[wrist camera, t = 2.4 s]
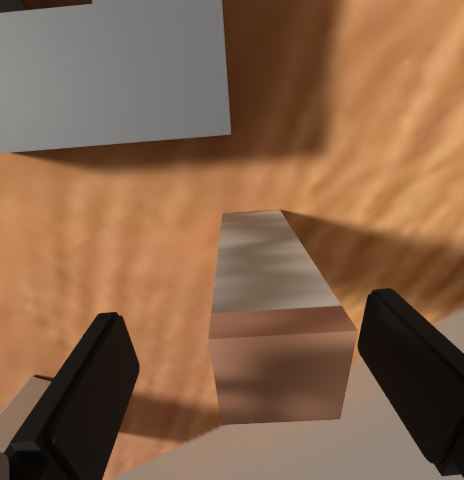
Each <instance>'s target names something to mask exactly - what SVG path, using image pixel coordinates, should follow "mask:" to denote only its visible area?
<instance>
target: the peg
mask: <svg viewBox="0 0 464 480" xmlns="http://www.w3.org/2000/svg"><path fill="white" fill-rule="evenodd" d="M357 332H358V330H357V329H356V327H355V326H354V324H353V323H352V321H351V320H350V318H349V317H348V315H347V313H346V312H345V310H344V309H343V307H342V306H341V304H340V303H339V301H338V299H337V298H336V296H335V295H334V293H333V292H332V290H331V289H330V287H329V285H328V284H327V282H326V281H325V279H324V278H323V276H322V275H321V273H320V272H319V270H318V268H317V267H316V265H315V264H314V262H313V261H312V259H311V258H310V256H309V254H308V253H307V251H306V250H305V248H304V247H303V245H302V244H301V242H300V240H299V239H298V237H297V236H296V234H295V233H294V231H293V230H292V228H291V227H290V225H289V223H288V222H287V220H286V219H285V217H284V216H283V214H282V213H281V211H280V209H279V210H265V211H252V212H238V213H224V214H222V222H221V231H220V240H219V249H218V258H217V267H216V276H215V285H214V294H213V303H212V312H211V321H210V330H209V346H210V352H211V358H212V365H213V371H214V377H215V383H216V390H217V396H218V402H219V409H220V415H221V421H222V425H228V424H248V423H268V422H291V421H312V420H333V419H340V417H341V412H342V407H343V402H344V397H345V392H346V387H347V382H348V376H349V372H350V367H351V362H352V357H353V352H354V347H355V342H356V337H357Z"/></svg>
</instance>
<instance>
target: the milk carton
mask: <svg viewBox="0 0 464 480" xmlns="http://www.w3.org/2000/svg"><path fill="white" fill-rule="evenodd" d="M51 382H52V381H48V380H44V379H40V378H36V377H30V378H29V379H28V380H27V382H26V383H25V384H24V385H23V386H22V388H21V389H20V390H19V391H18V392H17V394H16V395H15V396H14V397H13V398H12V400H11V401H10V402H9V403H8V404H7V406H6V407H5V408H4V409H3V410H2V412H1V413H0V452H2V453H4V451H5V450H6V448H7V447H8V445H9V443H10V441H11V440H12V438H13V437H14V436H15V434H16V433H17V431H18V430H19V428H20V427H21V425H22V424H23V422H24V421H25V420H26V418H27V417H28V415H29V414H30V412H31V411H32V409H33V408H34V406H35V405H36V404H37V402H38V401H39V399H40V398H41V396H42V395H43V393H44V392H45V390H46V389H47V388H48V386H49V385H50V383H51Z"/></svg>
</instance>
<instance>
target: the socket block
mask: <svg viewBox="0 0 464 480" xmlns="http://www.w3.org/2000/svg"><path fill="white" fill-rule="evenodd" d="M92 2H93V4H85V5H75V6H65V7H55V8H45V9H35V10H25V8H24V5H23V2H22V0H0V153H12V152H24V151H36V150H48V149H60V148H73V147H85V146H97V145H109V144H121V143H134V142H146V141H158V140H170V139H182V138H195V137H207V136H219V135H231V124H230V110H229V95H228V81H227V66H226V52H225V37H224V23H223V9H222V0H92Z"/></svg>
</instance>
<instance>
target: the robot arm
mask: <svg viewBox="0 0 464 480" xmlns="http://www.w3.org/2000/svg"><path fill="white" fill-rule="evenodd" d="M358 351H359V353H360V355H361V357H362V358H363V360H364V362H365V363H366V365H367V366H368V368H369V369H370V371H371V373H372V374H373V376H374V377H375V379H376V381H377V382H378V384H379V385H380V387H381V389H382V390H383V392H384V393H385V395H386V396H387V398H388V399H389V401H390V403H391V404H392V406H393V408H394V409H395V411H396V412H397V414H398V416H399V417H400V419H401V420H402V422H403V424H404V425H405V427H406V428H407V430H408V431H409V433H410V435H411V436H412V438H413V439H414V441H415V442H416V444H417V446H418V447H419V449H420V450H421V452H422V454H423V455H424V457H425V458H426V459H427V460H428V461H429V462H430V463H433V464H434V465H435V466H436V468H437V469H438V471H439V473H440V474H441V476H448V475H460V474H461V475H462V476H463V478H464V353H462V352H461V351H460V350H459V349H458V348H457V347H456V346H455V345H453V343H451V342H450V341H449V340H448V339H447V338H446V337H445V336H444V335H442V334H441V333H440V332H439V331H438V330H437V329H436V328H435V327H434V326H433V325H432V324H430V323H429V322H428V321H427V320H426V319H425V318H424V317H423V316H422V315H421V314H419V313H418V312H417V311H416V310H415V309H414V308H413V307H412V306H411V305H409V304H408V303H407V302H406V301H405V300H404V299H403V298H402V297H401V296H400V295H398V294H397V293H396V292H395V291H394V290H392V289H390V288H388V289H376V290H373V291H372V293H371V294H369V295H368V297H367V302H366V307H365V311H364V316H363V321H362V326H361V331H360V335H359V340H358ZM138 374H139V362H138V359H137V356H136V353H135V350H134V348H133V345H132V342H131V339H130V336H129V333H128V330H127V328H126V325H125V322H124V319H123V317H122V316H119V315H118V313H116V312H110V313H100V314H98V315H97V316H96V318H95V319H94V321H93V322H92V324H91V325H90V327H89V328H88V329H87V331H86V332H85V334H84V335H83V337H82V338H81V340H80V341H79V343H78V344H77V345H76V347H75V348H74V350H73V351H72V353H71V354H70V356H69V357H68V359H67V360H66V361H65V363H64V364H63V366H62V367H61V369H60V370H59V372H58V373H57V374H56V376H55V377H54V379H53V380H52V382H51V383H50V385H49V386H48V388H47V389H46V390H45V392H44V393H43V395H42V396H41V398H40V399H39V401H38V402H37V404H36V405H35V406H34V408H33V409H32V411H31V412H30V414H29V415H28V417H27V418H26V420H25V421H24V422H23V424H22V425H21V427H20V428H19V430H18V431H17V433H16V434H15V436H14V437H13V438H12V440H11V441H10V443H9V445H8V447H7V448H6V450H5V451H4V453H2V452H0V480H102V478H103V475H104V472H105V470H106V467H107V464H108V461H109V458H110V455H111V452H112V449H113V446H114V444H115V441H116V438H117V435H118V432H119V429H120V426H121V423H122V421H123V418H124V415H125V412H126V409H127V406H128V403H129V400H130V397H131V395H132V392H133V389H134V386H135V383H136V380H137V377H138Z"/></svg>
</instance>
